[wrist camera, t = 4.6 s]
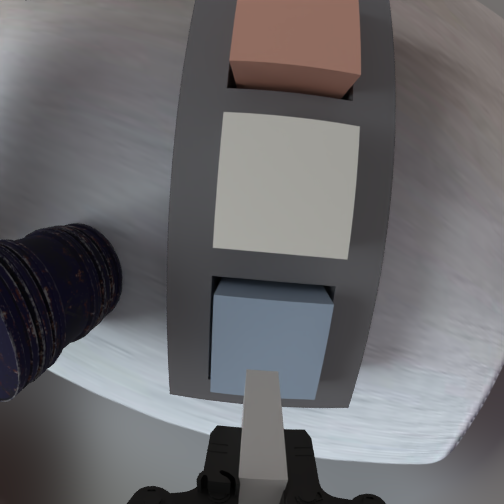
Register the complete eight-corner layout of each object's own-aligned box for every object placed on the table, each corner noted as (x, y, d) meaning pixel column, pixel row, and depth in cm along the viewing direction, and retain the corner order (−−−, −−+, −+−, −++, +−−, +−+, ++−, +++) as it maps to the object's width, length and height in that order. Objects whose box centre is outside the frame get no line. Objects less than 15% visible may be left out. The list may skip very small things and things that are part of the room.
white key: (224, 234, 21) (212, 247, 16) (233, 130, 20) (223, 111, 15) (328, 243, 21) (347, 259, 16) (338, 140, 20) (359, 126, 15)
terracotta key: (237, 88, 19) (229, 60, 14) (246, 8, 18) (241, -30, 13) (340, 99, 19) (360, 75, 14) (341, 18, 18) (357, -17, 13)
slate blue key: (220, 356, 24) (210, 391, 19) (224, 272, 23) (213, 294, 18) (306, 362, 24) (314, 399, 19) (320, 280, 23) (333, 304, 18)
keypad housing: (186, 357, 28) (170, 394, 22) (212, 12, 22) (200, -24, 16) (334, 369, 28) (348, 407, 22) (367, 28, 21) (388, -4, 16)
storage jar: (33, 237, 26) (-80, 271, 12) (105, 208, 26) (-22, 232, 11) (62, 327, 28) (-29, 399, 14) (137, 313, 27) (47, 408, 13)
